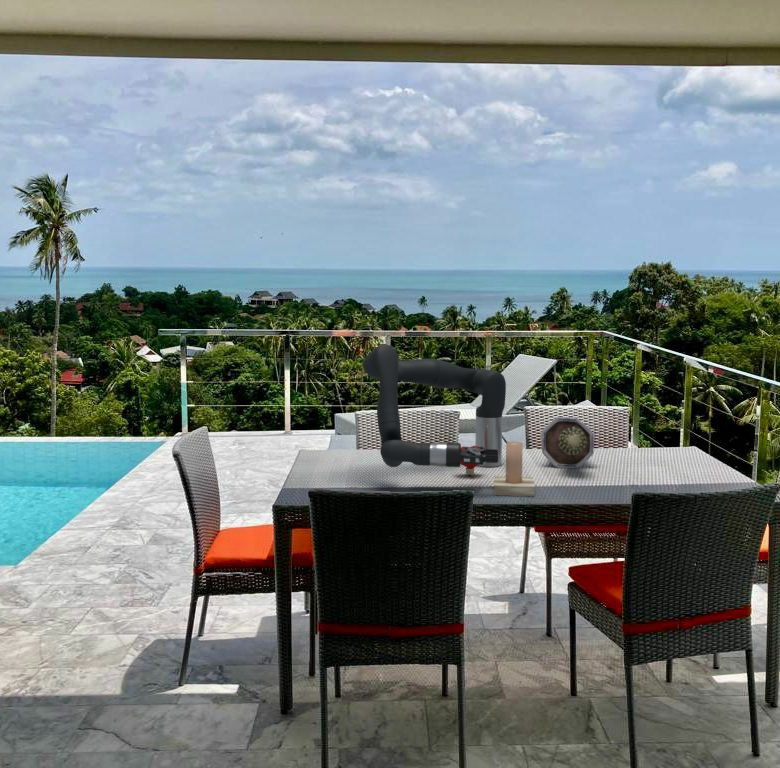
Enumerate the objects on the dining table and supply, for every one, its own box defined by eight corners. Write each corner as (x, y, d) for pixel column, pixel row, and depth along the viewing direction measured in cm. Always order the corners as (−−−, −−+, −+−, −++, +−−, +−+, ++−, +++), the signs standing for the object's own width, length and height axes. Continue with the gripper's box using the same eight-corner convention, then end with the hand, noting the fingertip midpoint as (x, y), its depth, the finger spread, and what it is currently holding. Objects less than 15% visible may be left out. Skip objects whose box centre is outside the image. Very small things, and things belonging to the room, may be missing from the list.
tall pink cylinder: (505, 479, 263) (506, 441, 262) (521, 479, 263) (522, 441, 261) (505, 483, 258) (506, 444, 257) (522, 483, 258) (522, 445, 256)
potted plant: (539, 418, 306) (546, 411, 276) (590, 421, 304) (602, 415, 275) (537, 467, 304) (544, 465, 274) (587, 470, 302) (600, 469, 273)
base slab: (494, 485, 267) (494, 476, 267) (532, 486, 266) (532, 477, 266) (494, 495, 256) (494, 485, 255) (534, 496, 254) (534, 487, 254)
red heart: (460, 479, 276) (460, 449, 274) (452, 474, 282) (453, 445, 281) (487, 477, 278) (487, 447, 277) (478, 472, 285) (479, 443, 284)
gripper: (444, 447, 254) (498, 448, 252) (446, 438, 268) (498, 439, 266) (444, 471, 255) (498, 473, 253) (446, 461, 269) (497, 462, 267)
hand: (498, 456), depth 260 cm, fingers open, 8 cm apart
